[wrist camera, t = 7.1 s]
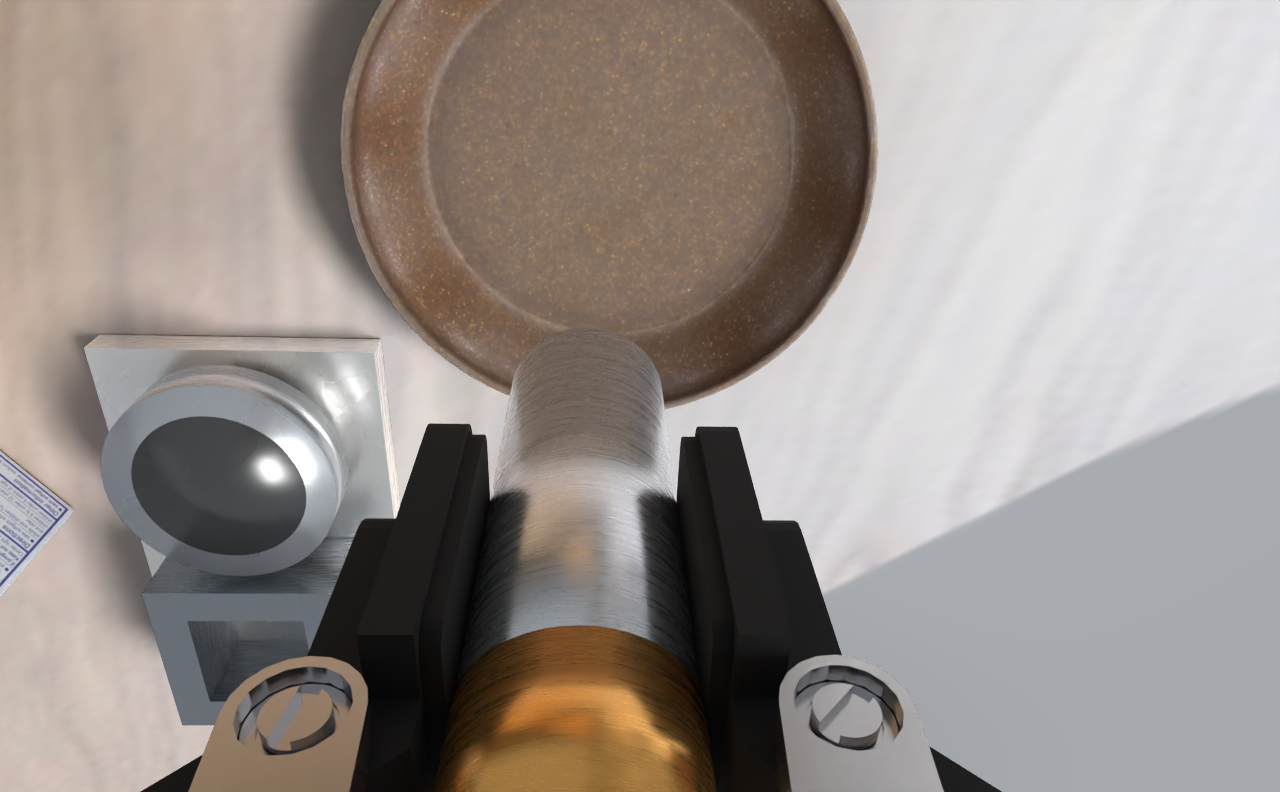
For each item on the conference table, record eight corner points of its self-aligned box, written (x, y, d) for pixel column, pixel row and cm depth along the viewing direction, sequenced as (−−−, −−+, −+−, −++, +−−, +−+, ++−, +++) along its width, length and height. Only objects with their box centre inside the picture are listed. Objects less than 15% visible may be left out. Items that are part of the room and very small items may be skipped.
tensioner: (99, 334, 29) (29, 394, 25) (380, 339, 29) (350, 398, 26) (190, 651, 35) (145, 732, 32) (417, 651, 36) (397, 732, 32)
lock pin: (507, 325, 15) (396, 813, 7) (667, 327, 15) (745, 809, 7) (512, 459, 16) (425, 1006, 8) (659, 461, 16) (717, 999, 8)
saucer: (835, -177, 23) (863, -188, 20) (869, 333, 30) (892, 370, 27) (287, -58, 24) (251, -56, 21) (446, 412, 31) (433, 453, 28)
